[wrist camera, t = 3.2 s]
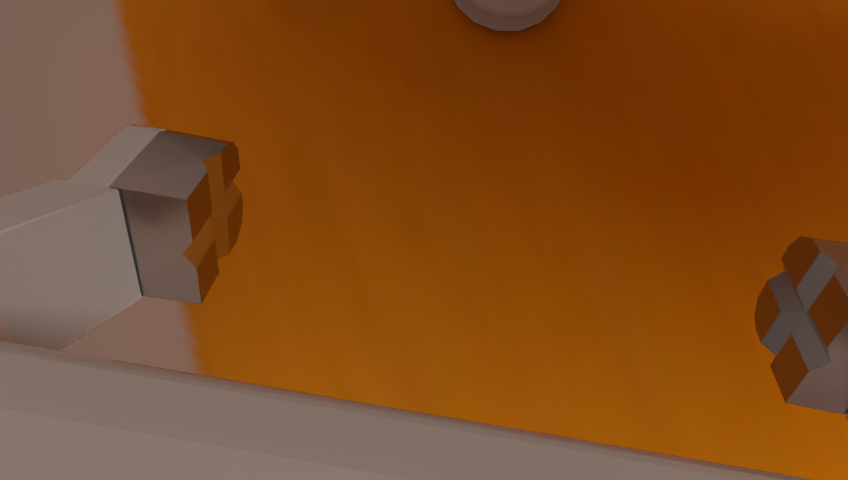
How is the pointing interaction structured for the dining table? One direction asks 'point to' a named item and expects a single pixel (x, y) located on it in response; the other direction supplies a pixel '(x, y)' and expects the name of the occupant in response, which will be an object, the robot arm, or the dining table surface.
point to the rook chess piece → (507, 12)
